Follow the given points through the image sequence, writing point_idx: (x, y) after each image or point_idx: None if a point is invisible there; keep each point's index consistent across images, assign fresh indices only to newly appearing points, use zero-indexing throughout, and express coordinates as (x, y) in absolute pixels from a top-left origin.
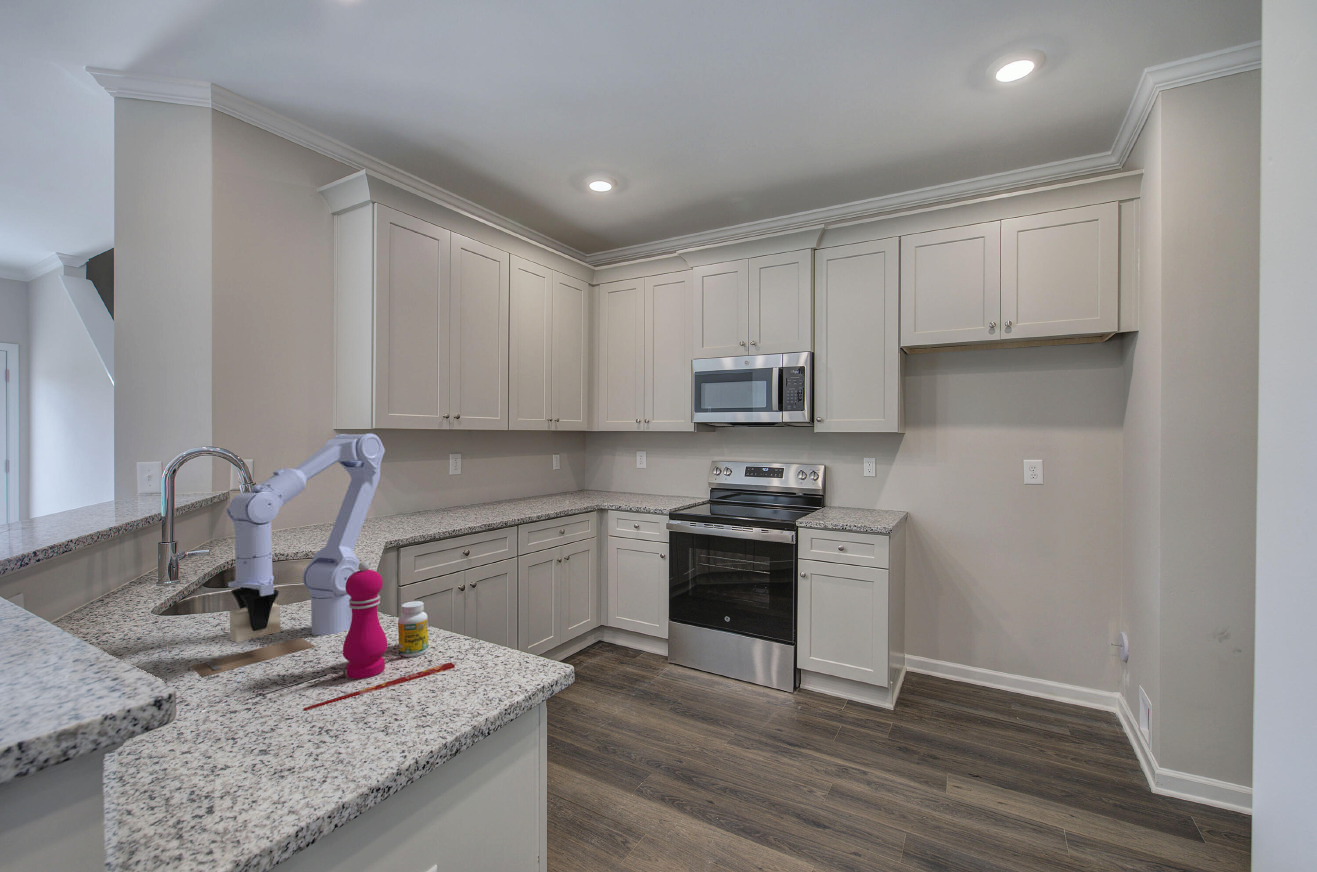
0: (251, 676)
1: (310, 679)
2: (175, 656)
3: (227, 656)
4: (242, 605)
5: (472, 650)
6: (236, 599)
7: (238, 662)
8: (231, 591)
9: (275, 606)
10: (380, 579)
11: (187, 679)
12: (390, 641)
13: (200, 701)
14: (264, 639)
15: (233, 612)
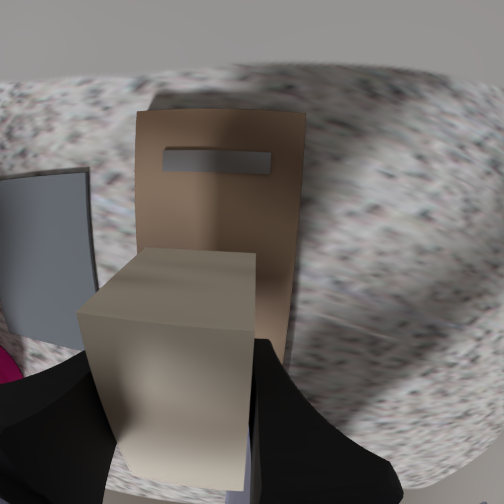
0: (97, 230)
1: (2, 302)
2: (486, 154)
3: (296, 228)
4: (257, 417)
5: None
6: (323, 435)
7: (187, 231)
8: (358, 487)
9: (131, 466)
10: None
11: (235, 90)
12: (124, 462)
13: (36, 99)
14: (406, 355)
15: (168, 330)
